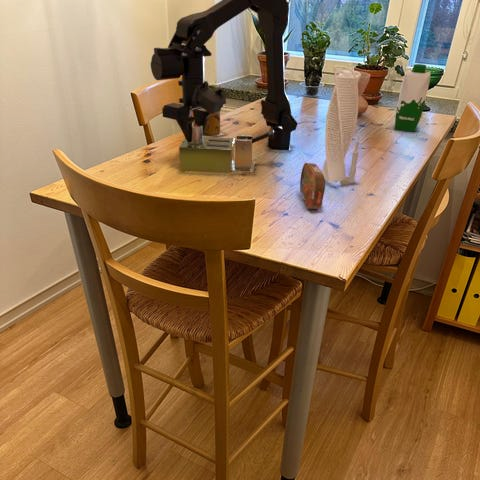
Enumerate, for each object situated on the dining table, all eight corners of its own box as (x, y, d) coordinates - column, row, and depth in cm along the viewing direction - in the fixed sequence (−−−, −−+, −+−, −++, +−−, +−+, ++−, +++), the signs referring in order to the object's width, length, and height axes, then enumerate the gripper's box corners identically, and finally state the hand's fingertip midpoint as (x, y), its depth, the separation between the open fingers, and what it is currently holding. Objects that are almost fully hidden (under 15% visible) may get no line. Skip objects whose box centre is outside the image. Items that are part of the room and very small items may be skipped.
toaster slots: (230, 140, 129) (230, 140, 129) (228, 146, 124) (228, 146, 124) (209, 139, 129) (208, 139, 129) (206, 145, 125) (206, 145, 125)
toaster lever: (275, 133, 127) (272, 124, 126) (274, 140, 122) (271, 131, 121) (241, 146, 130) (238, 138, 129) (240, 153, 125) (236, 145, 124)
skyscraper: (328, 188, 121) (345, 68, 104) (312, 177, 127) (326, 62, 110) (355, 183, 124) (376, 66, 107) (338, 173, 130) (355, 60, 113)
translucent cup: (184, 140, 128) (183, 122, 125) (199, 138, 129) (198, 120, 126) (190, 145, 125) (189, 126, 122) (205, 143, 126) (205, 124, 123)
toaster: (234, 163, 135) (234, 137, 130) (231, 175, 127) (231, 149, 123) (184, 160, 136) (182, 135, 131) (177, 172, 128) (176, 146, 123)
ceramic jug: (335, 106, 190) (340, 67, 181) (370, 111, 185) (377, 71, 176) (322, 117, 177) (327, 75, 168) (360, 122, 172) (367, 80, 163)
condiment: (225, 135, 156) (225, 96, 149) (203, 138, 152) (202, 99, 145) (214, 129, 161) (213, 91, 154) (192, 133, 157) (191, 94, 150)
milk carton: (419, 127, 169) (434, 65, 156) (416, 133, 162) (432, 69, 150) (394, 124, 171) (407, 63, 159) (391, 130, 165) (404, 67, 152)
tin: (298, 190, 120) (301, 157, 115) (310, 189, 120) (314, 157, 115) (310, 215, 108) (314, 180, 103) (323, 215, 108) (328, 180, 103)
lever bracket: (254, 165, 134) (255, 133, 128) (253, 175, 127) (254, 142, 122) (234, 164, 134) (234, 132, 129) (231, 174, 128) (231, 141, 122)
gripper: (194, 87, 108) (196, 154, 117) (239, 76, 120) (238, 138, 129) (158, 80, 112) (163, 146, 122) (206, 70, 125) (206, 130, 134)
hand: (194, 140), depth 127 cm, fingers closed on translucent cup, 4 cm apart
